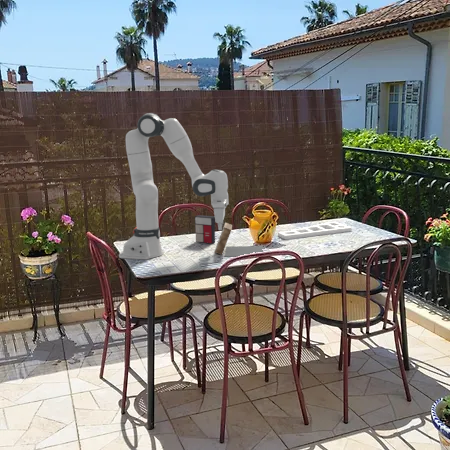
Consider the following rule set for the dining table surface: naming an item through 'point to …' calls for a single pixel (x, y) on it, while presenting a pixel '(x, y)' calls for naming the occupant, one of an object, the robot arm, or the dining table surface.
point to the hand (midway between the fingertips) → (220, 227)
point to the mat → (242, 250)
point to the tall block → (223, 238)
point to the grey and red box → (205, 229)
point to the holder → (320, 230)
